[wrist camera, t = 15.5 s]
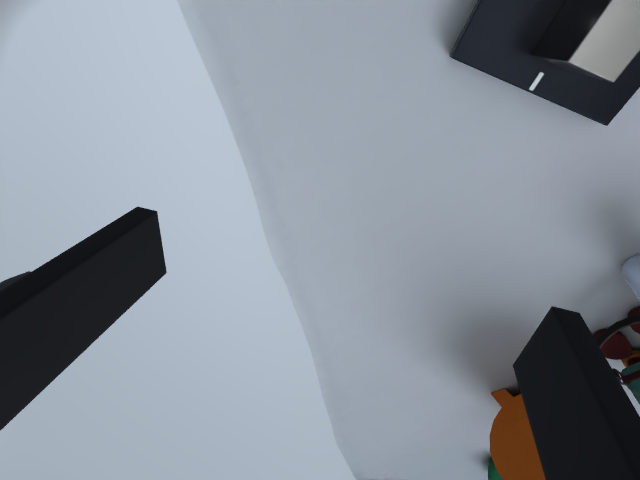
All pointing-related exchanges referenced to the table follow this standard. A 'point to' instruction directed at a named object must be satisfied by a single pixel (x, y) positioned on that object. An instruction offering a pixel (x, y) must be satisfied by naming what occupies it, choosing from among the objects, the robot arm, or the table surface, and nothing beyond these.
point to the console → (532, 73)
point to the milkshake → (632, 273)
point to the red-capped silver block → (592, 38)
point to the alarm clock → (514, 441)
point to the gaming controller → (493, 472)
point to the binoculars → (623, 350)
